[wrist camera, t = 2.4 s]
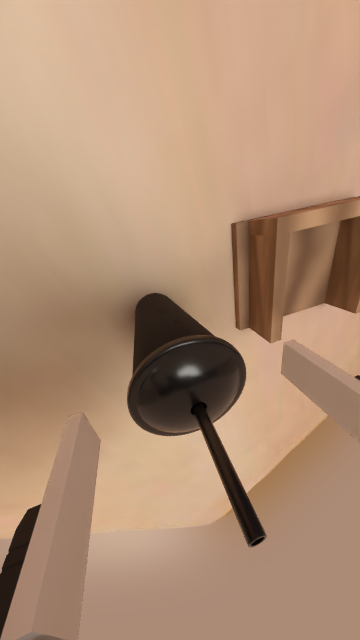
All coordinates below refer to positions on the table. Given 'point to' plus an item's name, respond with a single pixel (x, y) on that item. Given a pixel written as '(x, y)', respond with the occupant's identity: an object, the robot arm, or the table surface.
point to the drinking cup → (188, 389)
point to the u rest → (296, 264)
